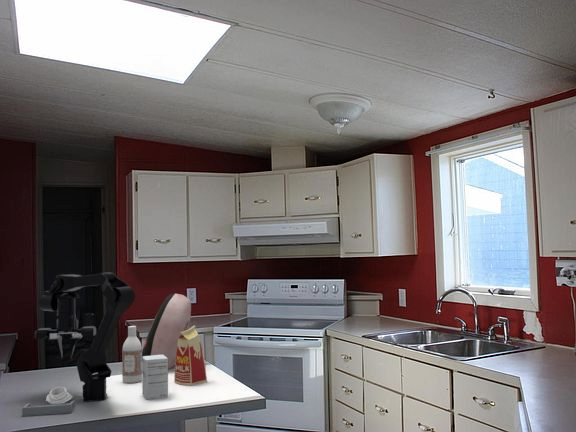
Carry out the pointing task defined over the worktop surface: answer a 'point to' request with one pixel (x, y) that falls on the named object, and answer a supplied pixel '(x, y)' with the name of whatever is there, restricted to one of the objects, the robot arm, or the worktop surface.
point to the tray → (48, 409)
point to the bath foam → (132, 358)
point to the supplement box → (155, 376)
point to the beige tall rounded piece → (168, 328)
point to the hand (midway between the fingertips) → (65, 358)
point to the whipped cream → (58, 396)
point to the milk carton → (189, 359)
